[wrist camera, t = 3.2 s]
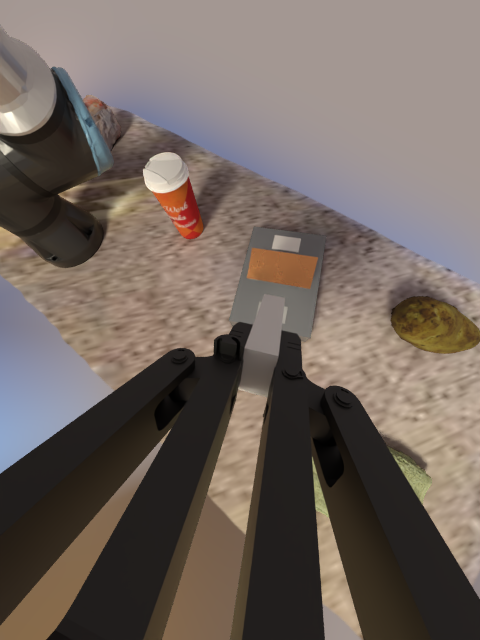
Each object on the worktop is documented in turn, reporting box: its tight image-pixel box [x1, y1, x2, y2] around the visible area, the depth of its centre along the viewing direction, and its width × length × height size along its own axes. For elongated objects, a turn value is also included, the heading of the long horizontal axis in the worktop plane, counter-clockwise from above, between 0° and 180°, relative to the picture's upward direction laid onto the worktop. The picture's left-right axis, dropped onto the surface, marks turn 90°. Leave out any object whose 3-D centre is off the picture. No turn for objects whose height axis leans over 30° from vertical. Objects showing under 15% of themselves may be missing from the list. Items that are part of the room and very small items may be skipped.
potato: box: [391, 296, 480, 354], centre depth 30 cm, size 8×13×8 cm, turn 52°
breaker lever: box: [247, 248, 318, 289], centre depth 27 cm, size 3×6×16 cm, turn 76°
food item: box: [83, 95, 121, 151], centre depth 51 cm, size 14×8×10 cm, turn 151°
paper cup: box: [143, 152, 203, 239], centre depth 38 cm, size 8×8×14 cm
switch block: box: [229, 227, 326, 342], centre depth 35 cm, size 20×14×7 cm
